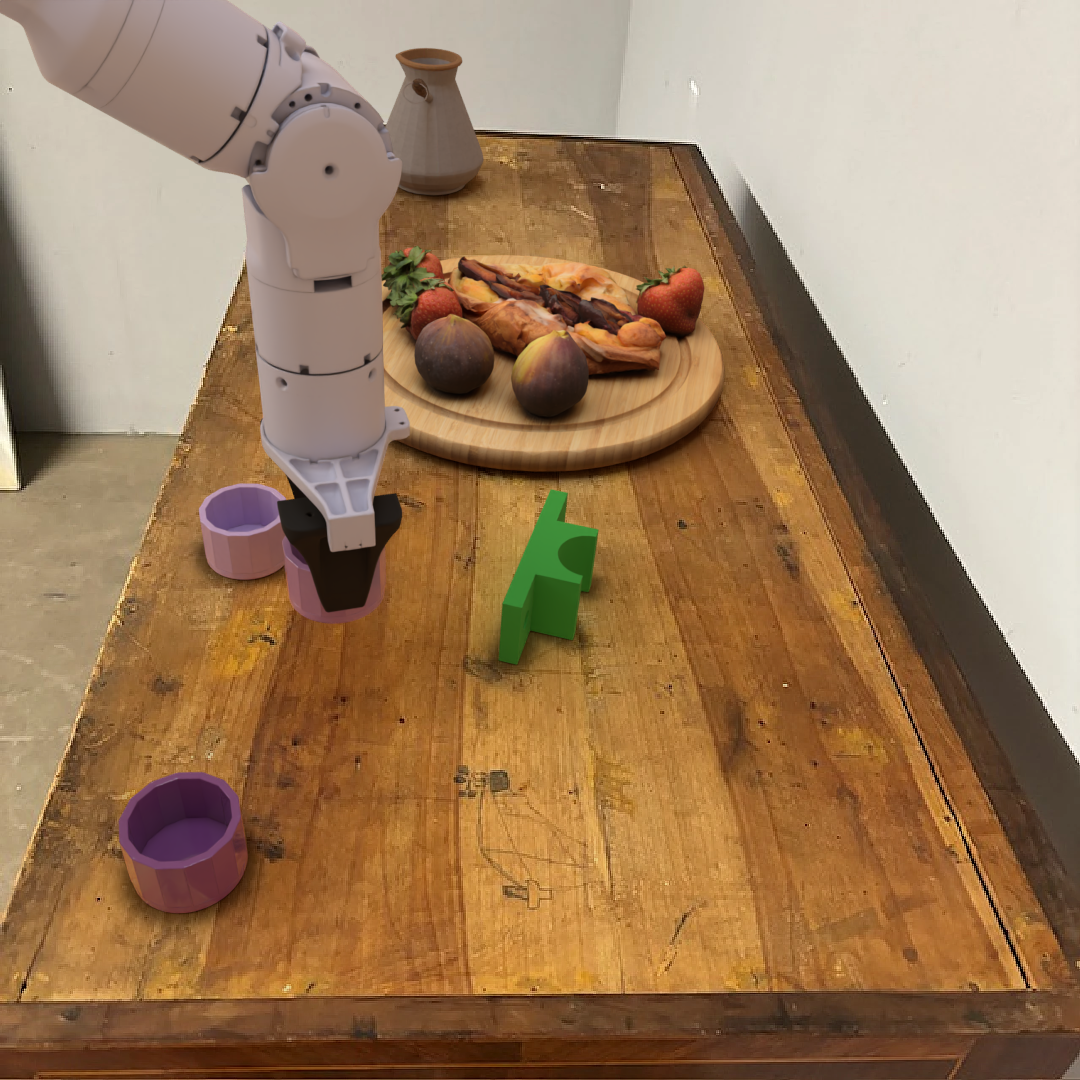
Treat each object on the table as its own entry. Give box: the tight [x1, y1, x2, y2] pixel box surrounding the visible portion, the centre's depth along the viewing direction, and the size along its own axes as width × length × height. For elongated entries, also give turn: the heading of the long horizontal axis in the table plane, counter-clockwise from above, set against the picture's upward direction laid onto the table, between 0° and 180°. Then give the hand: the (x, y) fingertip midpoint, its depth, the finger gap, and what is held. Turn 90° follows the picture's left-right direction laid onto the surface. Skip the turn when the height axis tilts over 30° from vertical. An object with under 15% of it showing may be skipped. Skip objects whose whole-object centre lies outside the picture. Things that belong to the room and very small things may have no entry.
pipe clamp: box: [498, 488, 600, 666], centre depth 65 cm, size 11×4×5 cm, turn 166°
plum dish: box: [118, 771, 249, 914], centre depth 49 cm, size 5×5×4 cm
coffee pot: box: [384, 47, 485, 196], centre depth 108 cm, size 21×12×15 cm, turn 179°
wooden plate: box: [381, 245, 726, 472], centre depth 86 cm, size 32×32×8 cm
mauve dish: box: [282, 536, 387, 625], centre depth 58 cm, size 5×5×4 cm
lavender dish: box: [198, 483, 287, 581], centre depth 67 cm, size 5×5×4 cm
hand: (335, 569), depth 58 cm, fingers closed on mauve dish, 5 cm apart
